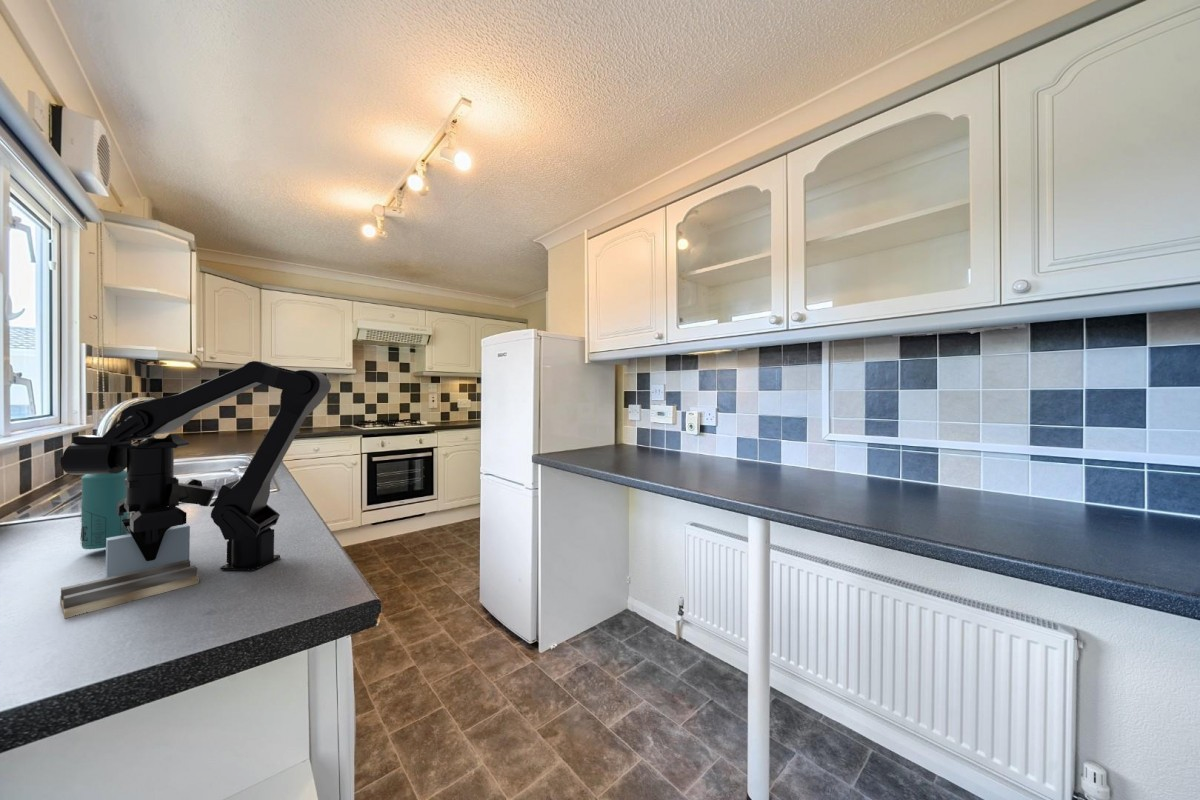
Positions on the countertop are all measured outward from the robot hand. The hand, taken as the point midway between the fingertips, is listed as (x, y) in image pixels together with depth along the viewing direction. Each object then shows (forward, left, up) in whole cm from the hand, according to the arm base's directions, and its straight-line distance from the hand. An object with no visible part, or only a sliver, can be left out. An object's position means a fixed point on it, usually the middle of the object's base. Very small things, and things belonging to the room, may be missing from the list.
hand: (149, 558), depth 74 cm
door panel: (0, 0, -2) cm, 2 cm away
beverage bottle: (+19, -9, -3) cm, 22 cm away
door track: (-6, +7, -2) cm, 9 cm away
